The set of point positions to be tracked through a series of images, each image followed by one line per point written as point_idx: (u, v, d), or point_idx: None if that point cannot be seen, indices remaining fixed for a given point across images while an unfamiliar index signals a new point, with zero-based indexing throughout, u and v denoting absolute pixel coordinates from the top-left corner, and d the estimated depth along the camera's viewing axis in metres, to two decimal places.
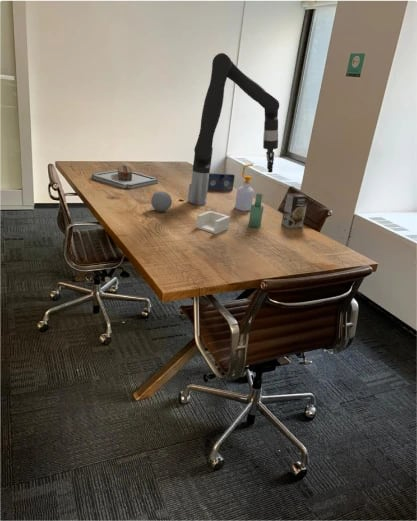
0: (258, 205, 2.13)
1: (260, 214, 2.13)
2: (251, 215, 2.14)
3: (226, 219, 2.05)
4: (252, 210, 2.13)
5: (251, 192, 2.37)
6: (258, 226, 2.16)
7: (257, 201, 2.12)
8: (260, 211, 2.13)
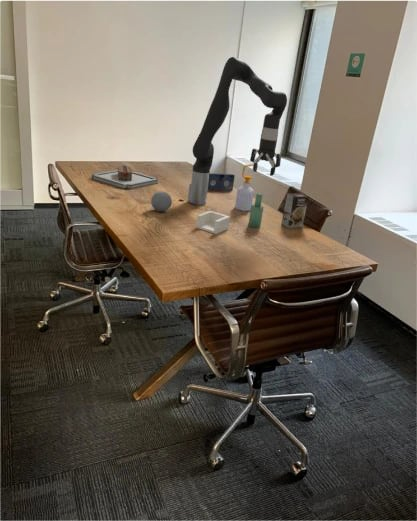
0: (258, 205, 2.13)
1: (260, 214, 2.13)
2: (251, 215, 2.14)
3: (226, 219, 2.05)
4: (252, 210, 2.13)
5: (251, 192, 2.37)
6: (258, 226, 2.16)
7: (257, 201, 2.12)
8: (260, 211, 2.13)
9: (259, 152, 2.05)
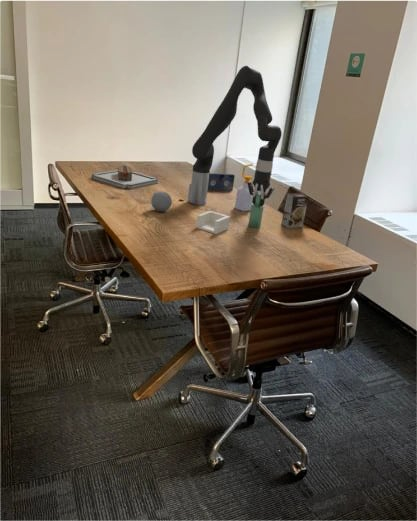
0: (258, 205, 2.13)
1: (260, 214, 2.13)
2: (251, 215, 2.14)
3: (226, 219, 2.05)
4: (252, 210, 2.13)
5: None
6: (258, 226, 2.16)
7: (257, 201, 2.12)
8: (260, 211, 2.13)
9: (254, 184, 2.11)
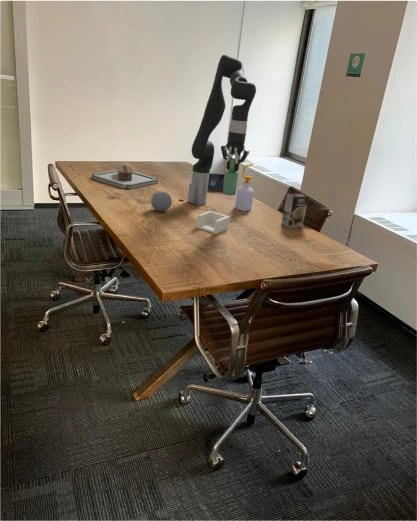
0: (232, 170, 1.98)
1: (235, 180, 1.99)
2: (225, 181, 2.00)
3: (226, 219, 2.05)
4: (226, 176, 1.99)
5: (251, 192, 2.37)
6: (233, 193, 2.01)
7: (231, 166, 1.98)
8: (235, 177, 1.98)
9: (227, 148, 1.96)
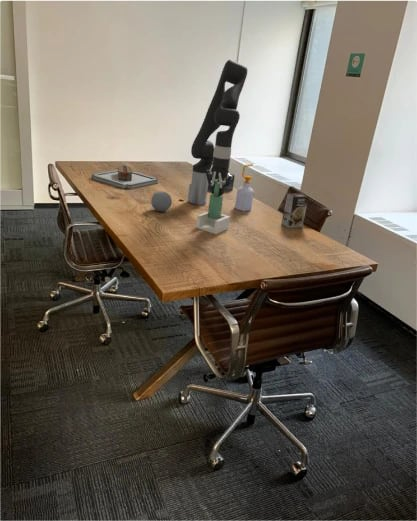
0: (217, 194, 2.00)
1: (219, 204, 2.01)
2: (210, 205, 2.02)
3: (226, 219, 2.05)
4: (211, 200, 2.00)
5: (251, 192, 2.37)
6: (218, 217, 2.03)
7: (216, 190, 1.99)
8: (219, 201, 2.00)
9: (212, 172, 1.98)
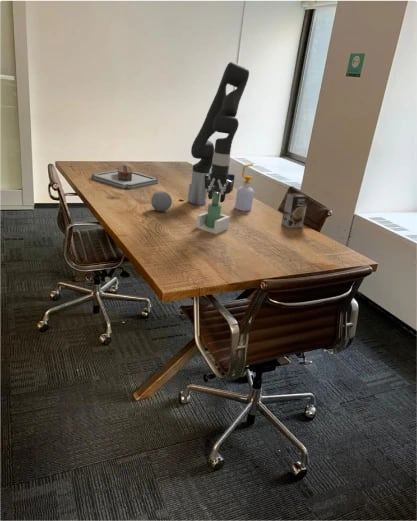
0: (215, 204, 2.02)
1: (217, 213, 2.02)
2: (208, 215, 2.03)
3: (226, 219, 2.05)
4: (209, 209, 2.02)
5: (251, 192, 2.37)
6: None
7: (214, 200, 2.01)
8: (218, 211, 2.02)
9: (211, 178, 1.99)
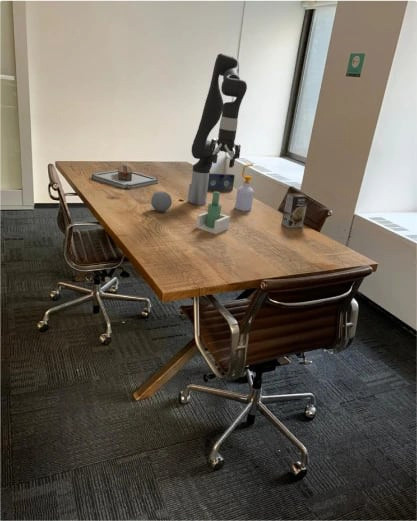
0: (215, 204, 2.02)
1: (217, 213, 2.03)
2: (208, 214, 2.03)
3: (226, 219, 2.05)
4: (209, 209, 2.02)
5: (251, 192, 2.37)
6: None
7: (214, 199, 2.01)
8: (218, 210, 2.02)
9: (218, 143, 1.96)
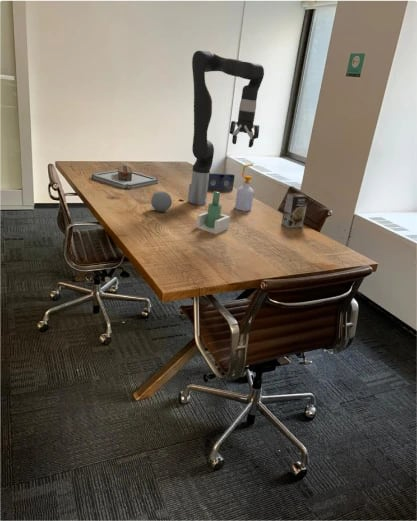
0: (216, 204, 2.02)
1: (218, 213, 2.03)
2: (208, 214, 2.03)
3: (226, 219, 2.05)
4: (209, 209, 2.02)
5: (251, 192, 2.37)
6: None
7: (214, 199, 2.01)
8: (218, 210, 2.02)
9: (238, 124, 2.09)
